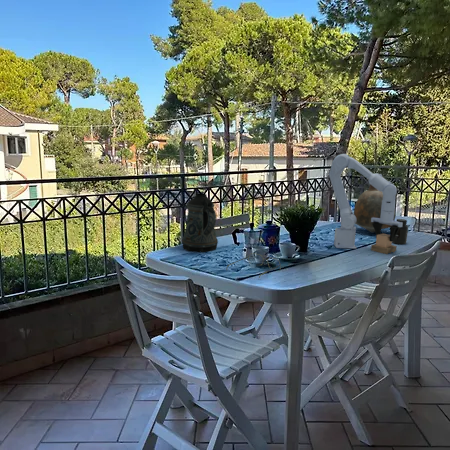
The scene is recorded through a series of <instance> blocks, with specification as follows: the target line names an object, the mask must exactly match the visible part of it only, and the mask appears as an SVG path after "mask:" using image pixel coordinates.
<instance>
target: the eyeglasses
mask: <svg viewBox="0 0 450 450" xmlns="http://www.w3.org/2000/svg"><path fill="white" fill-rule="evenodd" d="M253 254H255V255H256V252H255V253H254V252H251V253H250V254H248V256H245V257H243V258H241V259H239V260H237V261H234V262H232V263H230V264H227V266H226V271H228V267H229V266H232V265H234V264H237V262H238V263H239V262H240V261H243V260H245V259H248V260H247V261H248V263H249V264H251V262H250V255H253ZM257 255H259V256H261V257H262V260H265V258H264V255H263V254H257ZM265 257H267V258H266V260H267V265H268V267H269V268H270V267H271V266H270V264H269V259H273V260H274V259H275V260H276V258H274V257H271V256H269V257H268V256H267V255H265ZM277 262H278V265H277V266H275V267H273V268H270V269H269V270H267V271H265V272H263V273H261V274H259V276H258V279H259V278H260V279H261V276H262V275H264V274H266V273H268V272H270V271H272V270H275V269H277V268H278V267H279V269H281V268H282V267H281V263H280V260H279V259H277ZM263 264H264V262H262V264H260V266H262V265H263Z"/></svg>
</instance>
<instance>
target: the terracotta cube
mask: <svg viewBox="0 0 450 450" xmlns="http://www.w3.org/2000/svg"><path fill="white" fill-rule="evenodd" d="M375 238H376V237H375ZM375 240H376V241H375V244H376V246H381V247H385V248H386V247H390V246H391V245H393V244H392V243H393V242H392V241H390V234H386V233H381V234H378V235H377V238H376V239H375Z"/></svg>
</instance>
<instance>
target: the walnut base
mask: <svg viewBox="0 0 450 450" xmlns="http://www.w3.org/2000/svg"><path fill="white" fill-rule="evenodd" d="M370 248H371V249H370V251H371V252H376V253H381V254H383V255H389V254H388V253H390V254H392V253H391V252H393V253H395V251H396V252H397V245H393V244H392V245H391V246H390V247H386V248H385V247H381V246H376V243H375V244H371V246H370Z"/></svg>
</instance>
